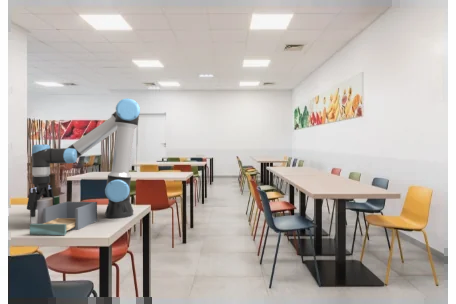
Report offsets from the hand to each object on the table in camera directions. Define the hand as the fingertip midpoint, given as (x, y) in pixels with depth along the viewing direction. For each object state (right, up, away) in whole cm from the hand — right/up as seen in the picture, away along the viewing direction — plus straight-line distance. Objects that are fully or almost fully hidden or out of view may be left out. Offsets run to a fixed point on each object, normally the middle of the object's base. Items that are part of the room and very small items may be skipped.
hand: (41, 220), depth 147 cm
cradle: (+14, -3, +2) cm, 14 cm away
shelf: (+13, -2, -7) cm, 15 cm away
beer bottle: (-10, -3, +26) cm, 28 cm away
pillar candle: (0, -3, 0) cm, 3 cm away
